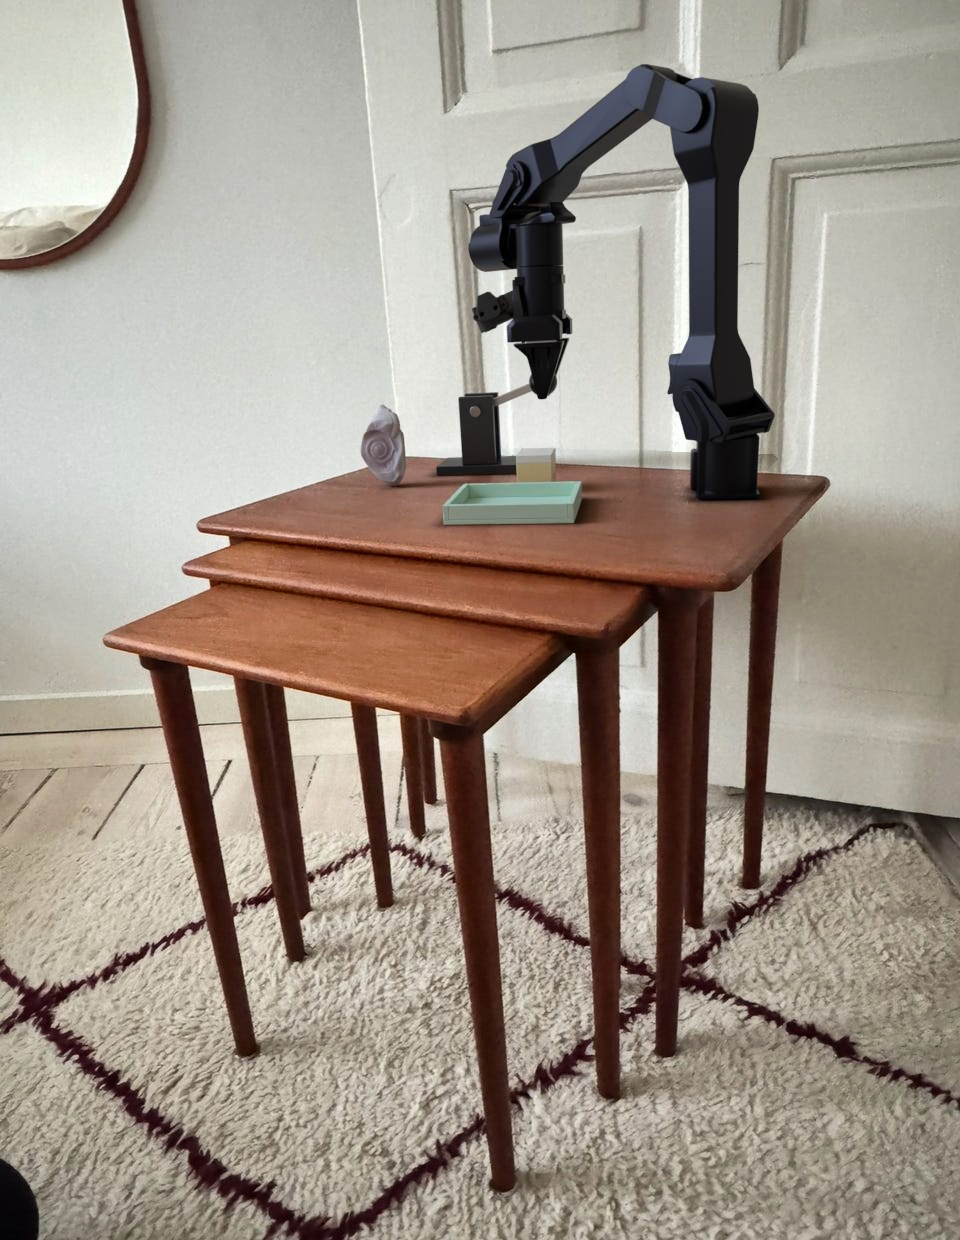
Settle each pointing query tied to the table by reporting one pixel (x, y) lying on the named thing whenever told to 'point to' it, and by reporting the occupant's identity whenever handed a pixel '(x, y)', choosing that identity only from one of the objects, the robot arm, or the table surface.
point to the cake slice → (536, 465)
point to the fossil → (384, 447)
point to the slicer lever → (522, 391)
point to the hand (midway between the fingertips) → (544, 397)
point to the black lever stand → (479, 439)
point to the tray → (514, 503)
